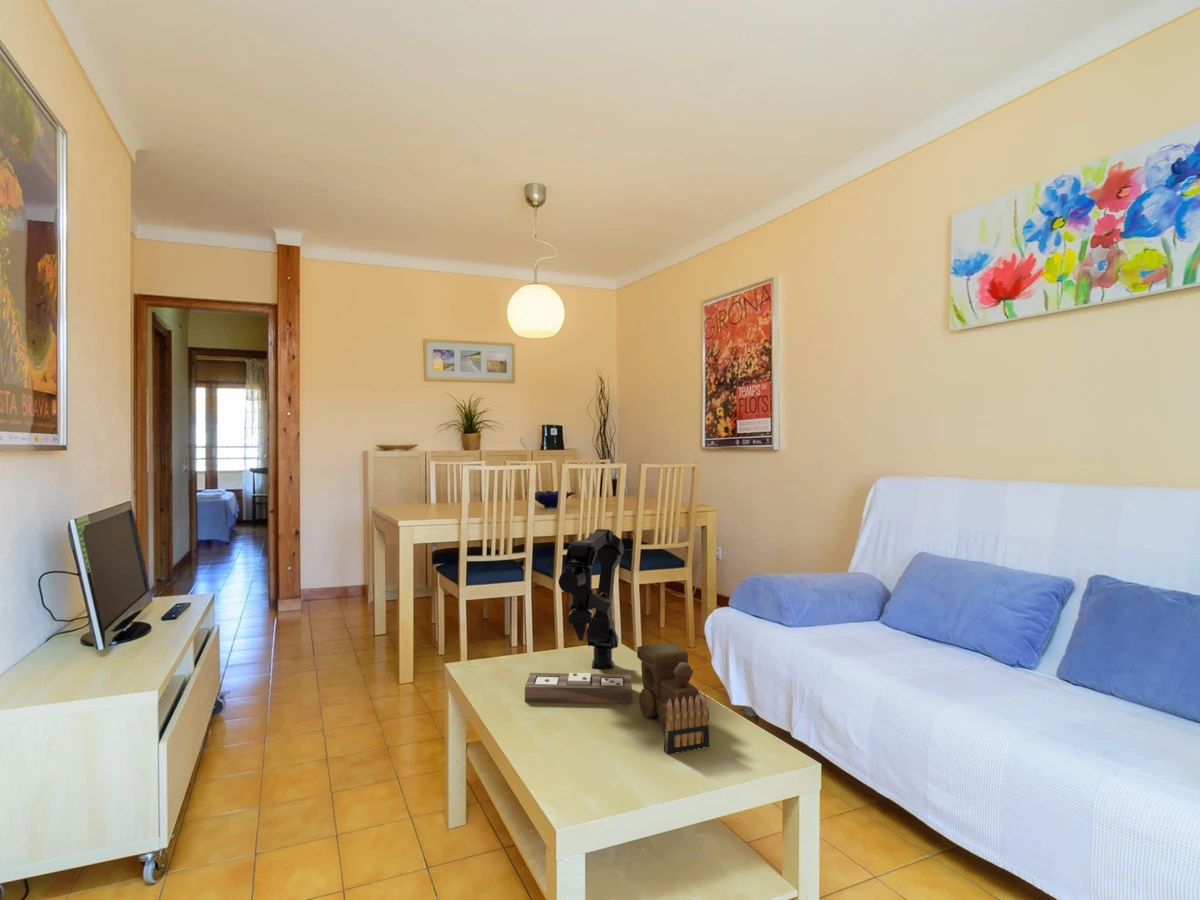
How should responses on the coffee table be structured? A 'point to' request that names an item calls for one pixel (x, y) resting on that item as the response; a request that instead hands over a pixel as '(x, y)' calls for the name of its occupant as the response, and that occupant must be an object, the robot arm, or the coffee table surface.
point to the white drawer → (547, 680)
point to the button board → (578, 690)
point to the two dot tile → (579, 679)
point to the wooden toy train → (664, 679)
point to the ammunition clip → (686, 726)
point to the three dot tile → (612, 681)
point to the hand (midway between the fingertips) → (581, 640)
